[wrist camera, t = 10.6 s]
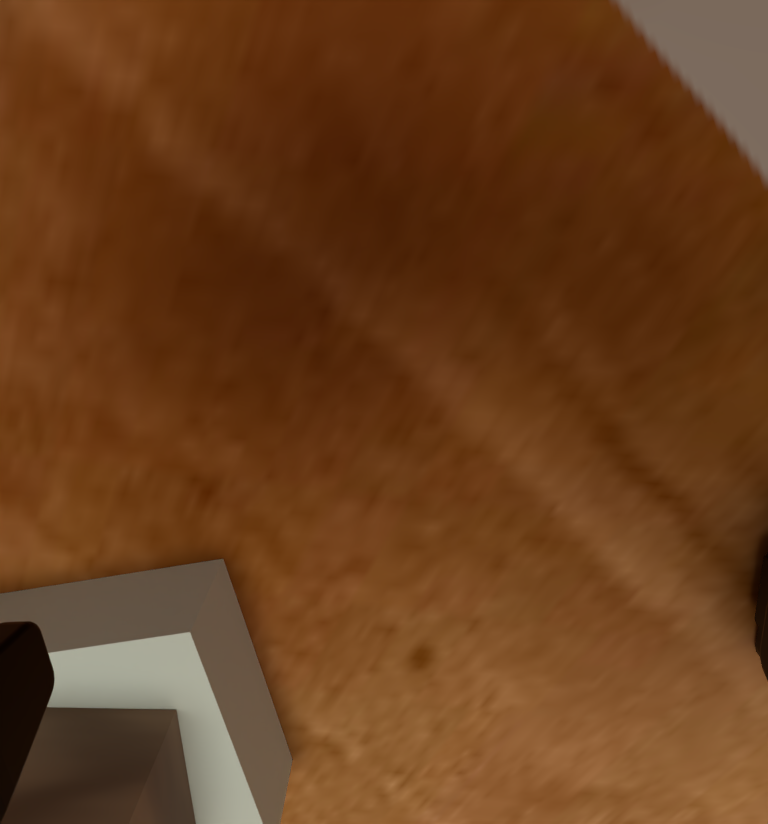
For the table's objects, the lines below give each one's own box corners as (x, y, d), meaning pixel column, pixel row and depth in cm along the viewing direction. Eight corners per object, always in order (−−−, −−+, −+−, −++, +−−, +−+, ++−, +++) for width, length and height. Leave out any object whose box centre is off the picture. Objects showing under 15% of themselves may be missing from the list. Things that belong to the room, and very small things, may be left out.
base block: (226, 552, 23) (190, 632, 19) (294, 751, 26) (274, 853, 22) (-21, 591, 24) (-101, 674, 20) (73, 779, 27) (19, 880, 24)
